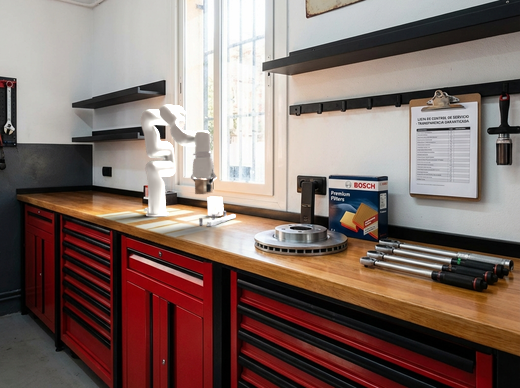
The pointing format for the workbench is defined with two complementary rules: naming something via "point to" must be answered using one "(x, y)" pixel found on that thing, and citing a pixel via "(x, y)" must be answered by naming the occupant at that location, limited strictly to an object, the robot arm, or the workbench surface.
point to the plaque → (201, 186)
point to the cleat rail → (221, 220)
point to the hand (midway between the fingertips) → (204, 191)
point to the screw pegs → (212, 218)
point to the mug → (215, 206)
